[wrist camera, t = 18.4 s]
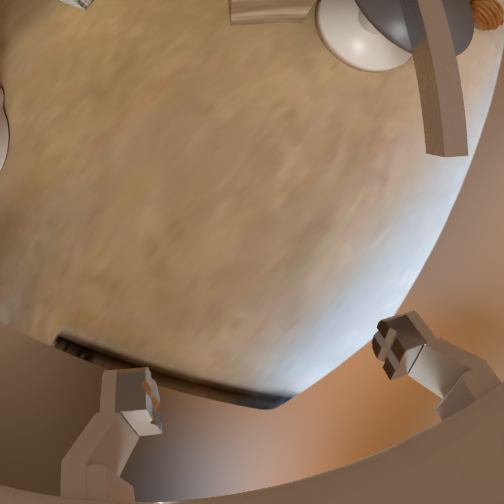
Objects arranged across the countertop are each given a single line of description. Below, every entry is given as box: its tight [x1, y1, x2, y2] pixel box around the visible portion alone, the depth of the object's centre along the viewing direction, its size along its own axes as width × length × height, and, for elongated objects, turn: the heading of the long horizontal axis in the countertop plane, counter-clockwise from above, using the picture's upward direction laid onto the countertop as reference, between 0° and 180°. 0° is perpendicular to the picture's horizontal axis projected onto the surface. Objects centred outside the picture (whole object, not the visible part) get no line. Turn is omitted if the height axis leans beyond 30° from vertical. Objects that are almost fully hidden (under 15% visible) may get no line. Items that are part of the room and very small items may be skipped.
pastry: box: [470, 0, 504, 31], centre depth 29 cm, size 9×7×4 cm
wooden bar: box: [399, 0, 468, 157], centre depth 19 cm, size 25×3×3 cm, turn 10°
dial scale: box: [315, 0, 474, 72], centre depth 26 cm, size 15×15×15 cm
